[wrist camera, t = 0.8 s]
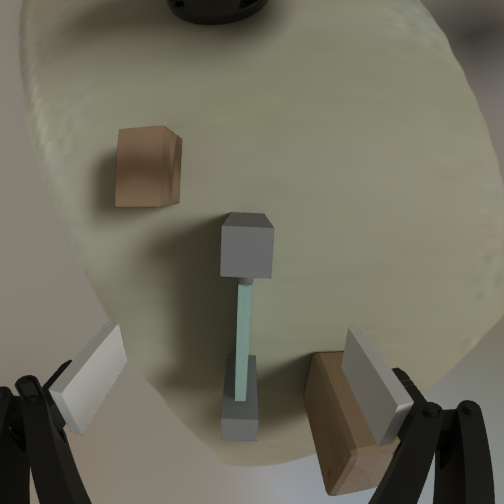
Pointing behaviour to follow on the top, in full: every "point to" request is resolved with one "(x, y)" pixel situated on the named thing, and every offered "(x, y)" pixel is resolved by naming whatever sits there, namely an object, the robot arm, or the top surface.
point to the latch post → (240, 404)
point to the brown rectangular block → (148, 167)
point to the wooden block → (342, 430)
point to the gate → (242, 336)
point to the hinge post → (247, 246)
